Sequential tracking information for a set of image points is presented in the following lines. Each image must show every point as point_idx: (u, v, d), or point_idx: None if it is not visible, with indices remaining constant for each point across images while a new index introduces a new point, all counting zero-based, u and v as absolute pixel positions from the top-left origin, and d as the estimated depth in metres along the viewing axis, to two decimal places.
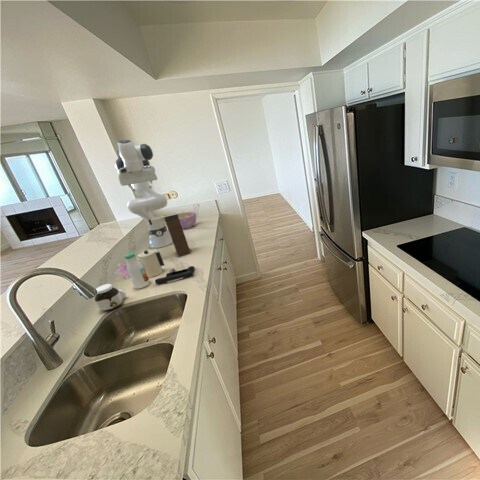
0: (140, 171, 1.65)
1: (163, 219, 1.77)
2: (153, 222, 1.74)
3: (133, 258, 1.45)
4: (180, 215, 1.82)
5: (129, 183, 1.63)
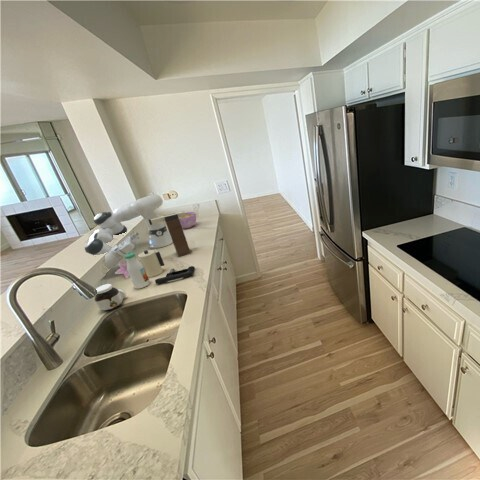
0: None
1: (163, 219, 1.77)
2: (153, 222, 1.74)
3: (133, 258, 1.45)
4: (180, 215, 1.82)
5: (128, 241, 1.65)
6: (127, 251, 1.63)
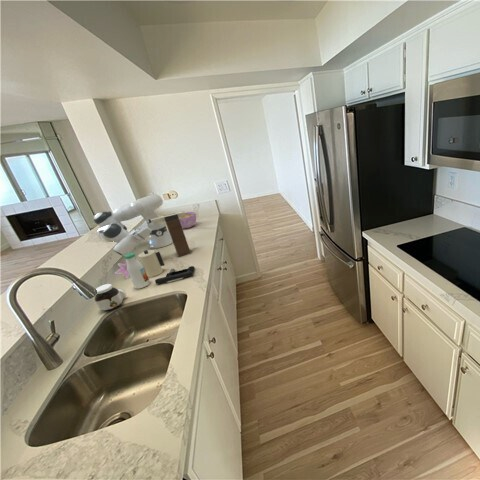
0: None
1: (163, 219, 1.77)
2: None
3: (133, 258, 1.45)
4: (180, 215, 1.82)
5: (146, 226, 1.69)
6: (145, 235, 1.66)
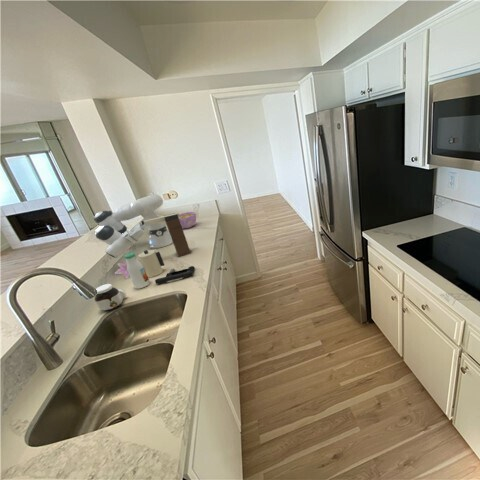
0: None
1: (156, 221, 1.75)
2: None
3: (133, 258, 1.45)
4: None
5: (139, 227, 1.67)
6: (137, 237, 1.64)
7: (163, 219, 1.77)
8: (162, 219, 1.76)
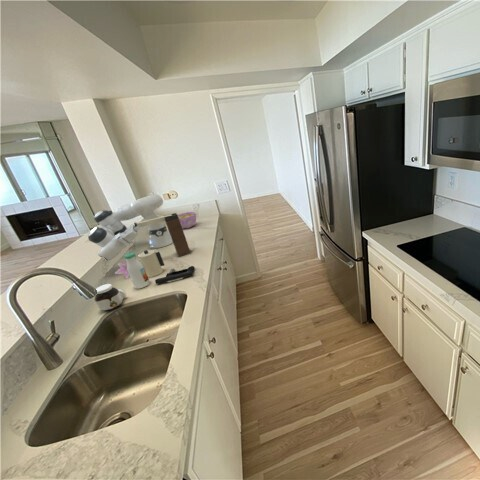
0: None
1: (149, 222, 1.73)
2: None
3: (133, 258, 1.45)
4: None
5: (131, 229, 1.65)
6: (130, 239, 1.62)
7: (156, 221, 1.75)
8: (155, 221, 1.74)
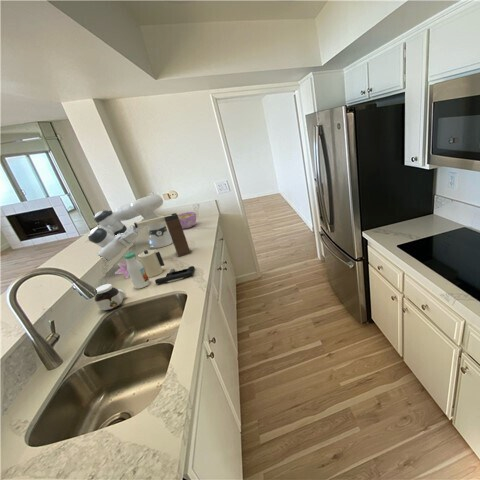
0: None
1: (149, 222, 1.73)
2: None
3: (133, 258, 1.45)
4: None
5: (132, 230, 1.65)
6: (130, 240, 1.62)
7: (156, 221, 1.75)
8: (155, 221, 1.74)
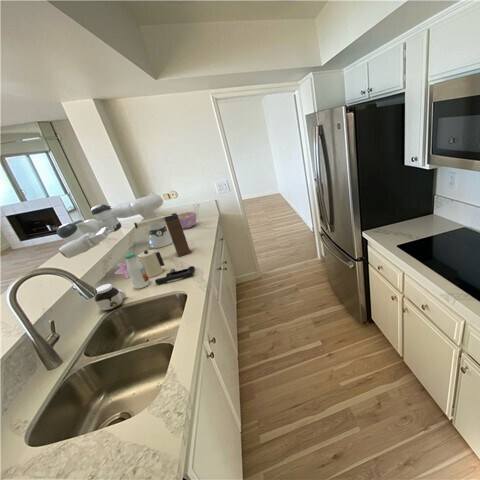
0: None
1: (149, 222, 1.73)
2: (139, 225, 1.70)
3: (133, 258, 1.45)
4: None
5: (102, 232, 1.58)
6: (96, 241, 1.54)
7: (156, 221, 1.75)
8: (155, 221, 1.74)
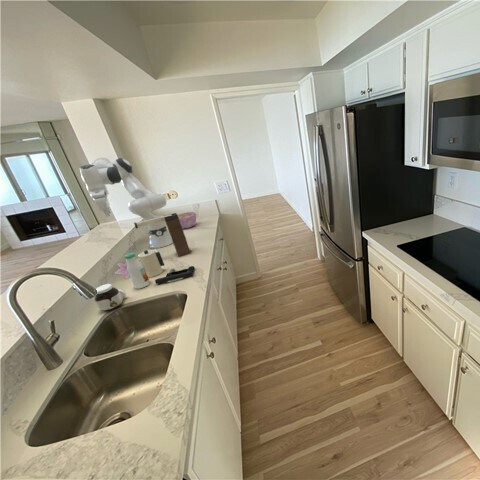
0: None
1: (149, 222, 1.73)
2: (139, 225, 1.70)
3: (133, 258, 1.45)
4: None
5: (107, 207, 1.58)
6: (98, 202, 1.52)
7: (156, 221, 1.75)
8: (155, 221, 1.74)
